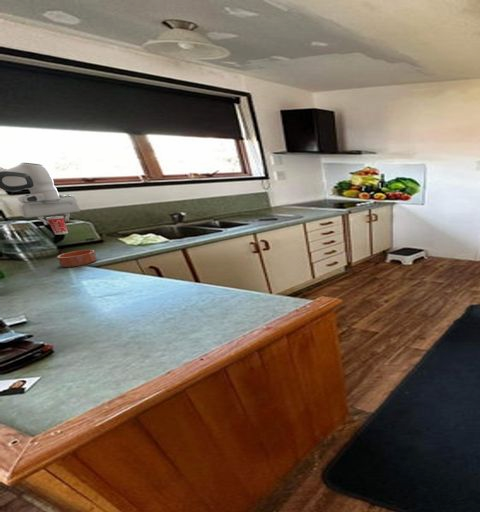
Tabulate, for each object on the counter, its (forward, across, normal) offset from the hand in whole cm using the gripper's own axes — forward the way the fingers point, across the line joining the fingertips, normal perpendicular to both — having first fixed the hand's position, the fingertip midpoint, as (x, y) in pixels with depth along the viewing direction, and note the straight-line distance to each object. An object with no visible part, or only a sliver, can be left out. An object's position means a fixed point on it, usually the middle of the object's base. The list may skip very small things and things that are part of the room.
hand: (57, 223), depth 142 cm
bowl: (+21, +1, +9) cm, 23 cm away
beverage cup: (+6, 0, 0) cm, 6 cm away
